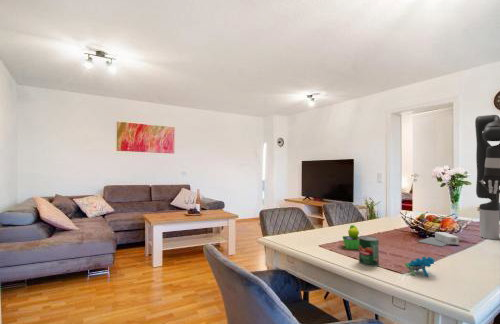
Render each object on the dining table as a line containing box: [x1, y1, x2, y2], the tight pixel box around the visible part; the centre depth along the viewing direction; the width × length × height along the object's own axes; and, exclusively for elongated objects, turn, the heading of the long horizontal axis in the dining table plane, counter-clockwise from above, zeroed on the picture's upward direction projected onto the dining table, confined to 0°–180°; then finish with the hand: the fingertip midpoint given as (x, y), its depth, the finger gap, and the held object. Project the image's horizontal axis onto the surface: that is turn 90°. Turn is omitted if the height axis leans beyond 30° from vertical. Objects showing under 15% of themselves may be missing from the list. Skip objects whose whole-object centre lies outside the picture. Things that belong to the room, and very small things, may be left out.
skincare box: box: [434, 231, 460, 246], centre depth 155 cm, size 6×4×12 cm
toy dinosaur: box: [404, 256, 435, 277], centre depth 107 cm, size 11×6×10 cm
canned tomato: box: [358, 235, 380, 267], centre depth 119 cm, size 8×8×11 cm
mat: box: [417, 236, 449, 248], centre depth 156 cm, size 18×12×1 cm, turn 125°
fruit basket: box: [341, 224, 360, 251], centre depth 143 cm, size 11×9×11 cm
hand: (492, 200), depth 139 cm, fingers closed
